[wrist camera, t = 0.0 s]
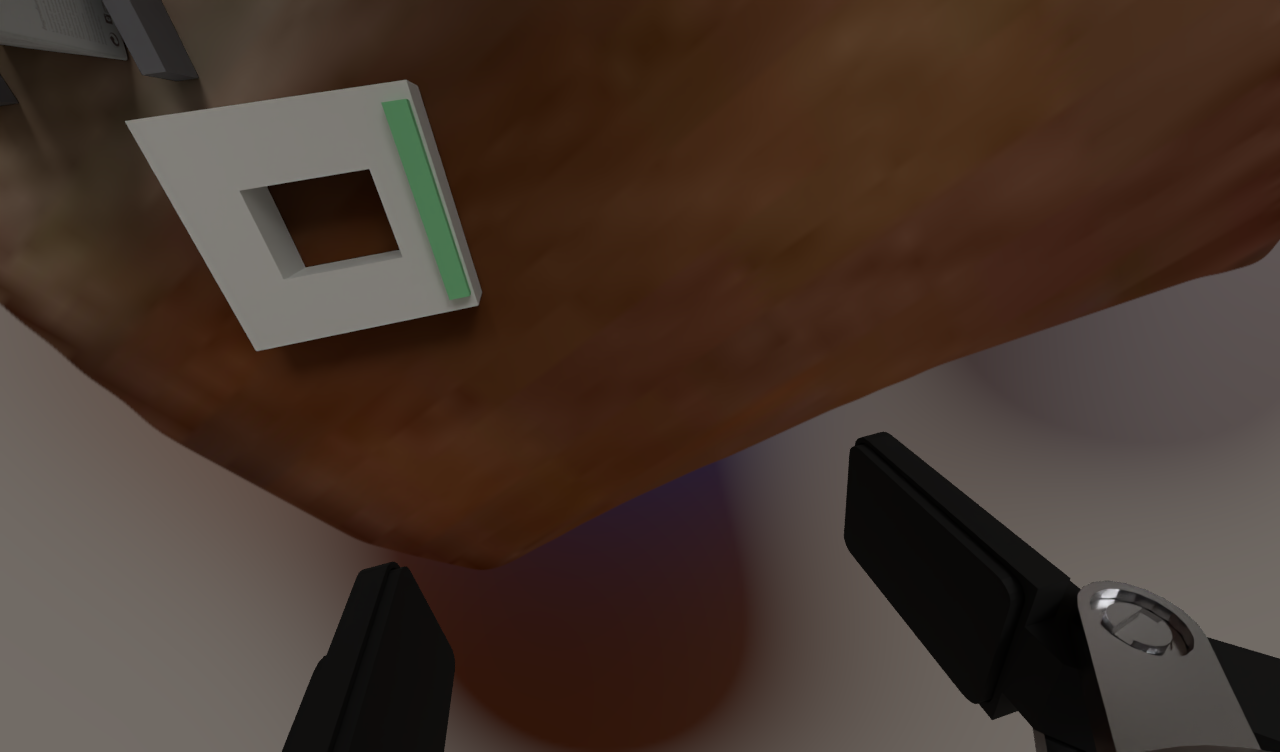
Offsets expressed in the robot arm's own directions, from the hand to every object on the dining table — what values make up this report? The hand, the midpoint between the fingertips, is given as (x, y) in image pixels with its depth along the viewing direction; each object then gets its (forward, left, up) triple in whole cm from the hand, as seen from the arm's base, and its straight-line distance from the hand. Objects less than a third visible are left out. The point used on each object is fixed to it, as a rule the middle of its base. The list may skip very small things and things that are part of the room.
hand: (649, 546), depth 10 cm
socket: (-5, -14, -31) cm, 35 cm away
